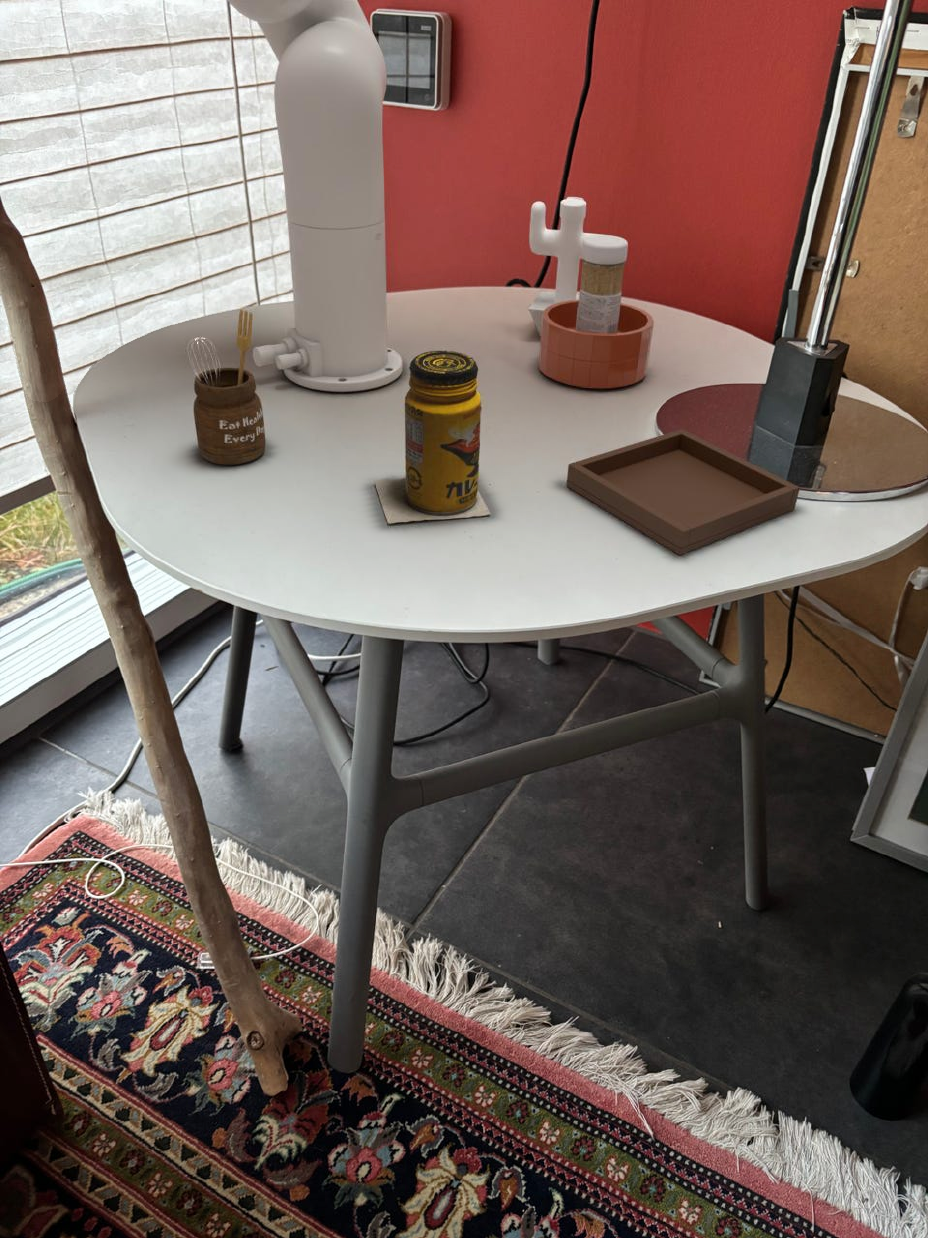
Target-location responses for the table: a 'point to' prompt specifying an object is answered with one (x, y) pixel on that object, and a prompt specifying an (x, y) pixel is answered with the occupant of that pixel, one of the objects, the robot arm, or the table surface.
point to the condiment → (438, 443)
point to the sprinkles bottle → (601, 283)
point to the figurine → (558, 251)
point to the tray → (682, 489)
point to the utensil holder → (229, 408)
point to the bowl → (594, 348)
